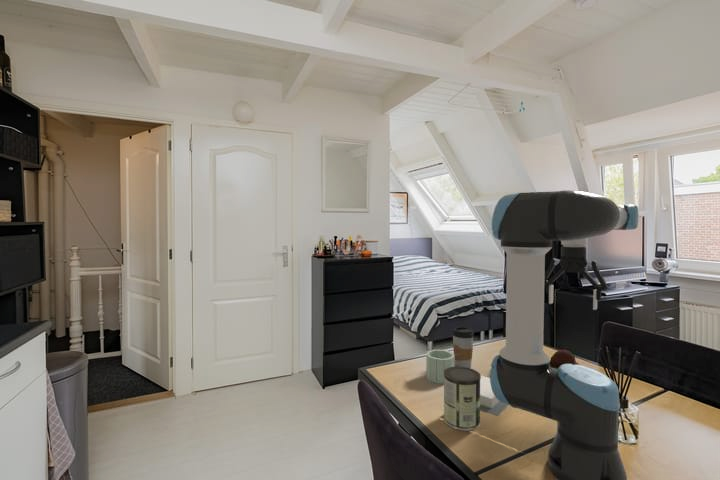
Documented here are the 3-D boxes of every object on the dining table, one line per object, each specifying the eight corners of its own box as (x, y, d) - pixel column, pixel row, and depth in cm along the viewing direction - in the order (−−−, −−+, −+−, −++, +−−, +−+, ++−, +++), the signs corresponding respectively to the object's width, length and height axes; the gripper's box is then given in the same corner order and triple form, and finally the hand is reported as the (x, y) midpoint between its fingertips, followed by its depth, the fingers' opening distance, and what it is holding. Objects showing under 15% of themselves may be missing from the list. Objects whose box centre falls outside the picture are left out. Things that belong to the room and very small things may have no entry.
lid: (491, 408, 109) (491, 398, 108) (461, 397, 115) (461, 388, 115) (508, 392, 119) (508, 383, 119) (479, 383, 126) (480, 375, 125)
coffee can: (461, 408, 109) (461, 363, 109) (488, 424, 101) (488, 376, 100) (435, 417, 104) (436, 370, 104) (461, 435, 95) (462, 384, 95)
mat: (497, 417, 104) (497, 415, 104) (448, 399, 115) (448, 398, 115) (520, 393, 119) (520, 392, 119) (475, 379, 130) (475, 378, 130)
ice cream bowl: (590, 402, 113) (591, 356, 112) (552, 399, 115) (553, 353, 114) (577, 387, 123) (578, 345, 122) (542, 384, 125) (543, 343, 125)
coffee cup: (447, 364, 144) (448, 328, 143) (463, 360, 147) (464, 325, 147) (461, 372, 136) (462, 333, 136) (478, 368, 140) (478, 330, 139)
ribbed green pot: (445, 387, 124) (445, 361, 123) (421, 378, 130) (421, 354, 130) (459, 378, 131) (459, 354, 131) (435, 370, 138) (435, 347, 137)
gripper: (618, 246, 118) (617, 309, 119) (538, 244, 135) (537, 299, 136) (615, 248, 113) (613, 313, 113) (532, 245, 129) (531, 302, 130)
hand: (572, 306), depth 125 cm, fingers open, 13 cm apart
